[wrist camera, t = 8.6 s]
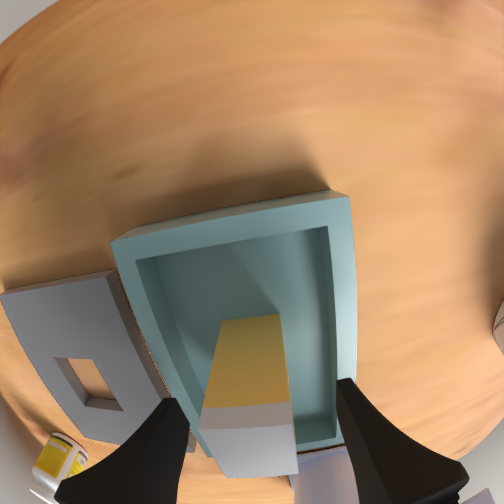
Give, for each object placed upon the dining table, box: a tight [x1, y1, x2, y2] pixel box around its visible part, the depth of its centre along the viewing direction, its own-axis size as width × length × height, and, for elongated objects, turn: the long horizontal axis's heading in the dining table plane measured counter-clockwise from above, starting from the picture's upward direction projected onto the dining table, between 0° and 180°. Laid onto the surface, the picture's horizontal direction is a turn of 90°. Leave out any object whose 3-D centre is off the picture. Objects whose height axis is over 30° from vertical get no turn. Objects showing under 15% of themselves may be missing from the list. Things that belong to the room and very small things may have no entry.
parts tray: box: [110, 190, 357, 457], centre depth 14 cm, size 16×10×3 cm, turn 11°
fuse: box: [198, 313, 299, 478], centre depth 11 cm, size 4×3×7 cm
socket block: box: [0, 269, 196, 453], centre depth 17 cm, size 16×12×1 cm
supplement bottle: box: [29, 432, 88, 504], centre depth 17 cm, size 5×5×10 cm
